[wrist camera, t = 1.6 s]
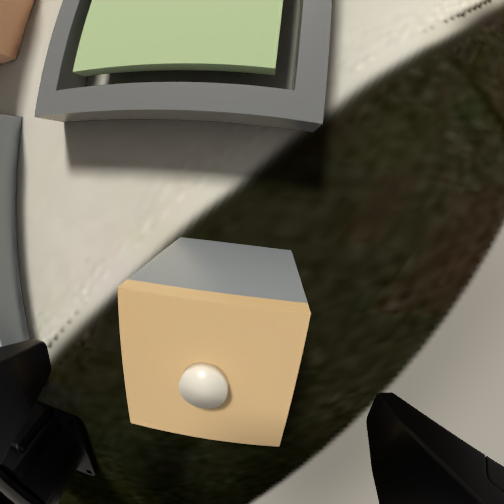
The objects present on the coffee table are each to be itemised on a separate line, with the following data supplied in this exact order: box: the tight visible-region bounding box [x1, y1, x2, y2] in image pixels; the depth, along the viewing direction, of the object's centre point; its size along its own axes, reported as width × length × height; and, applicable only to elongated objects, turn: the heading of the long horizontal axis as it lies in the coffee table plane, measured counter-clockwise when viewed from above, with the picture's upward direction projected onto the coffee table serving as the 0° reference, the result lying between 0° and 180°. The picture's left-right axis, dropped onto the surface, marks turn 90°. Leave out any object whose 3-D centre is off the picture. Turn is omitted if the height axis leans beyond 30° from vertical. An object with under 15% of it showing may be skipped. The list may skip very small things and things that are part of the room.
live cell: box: [118, 237, 311, 447], centre depth 10 cm, size 4×4×6 cm
